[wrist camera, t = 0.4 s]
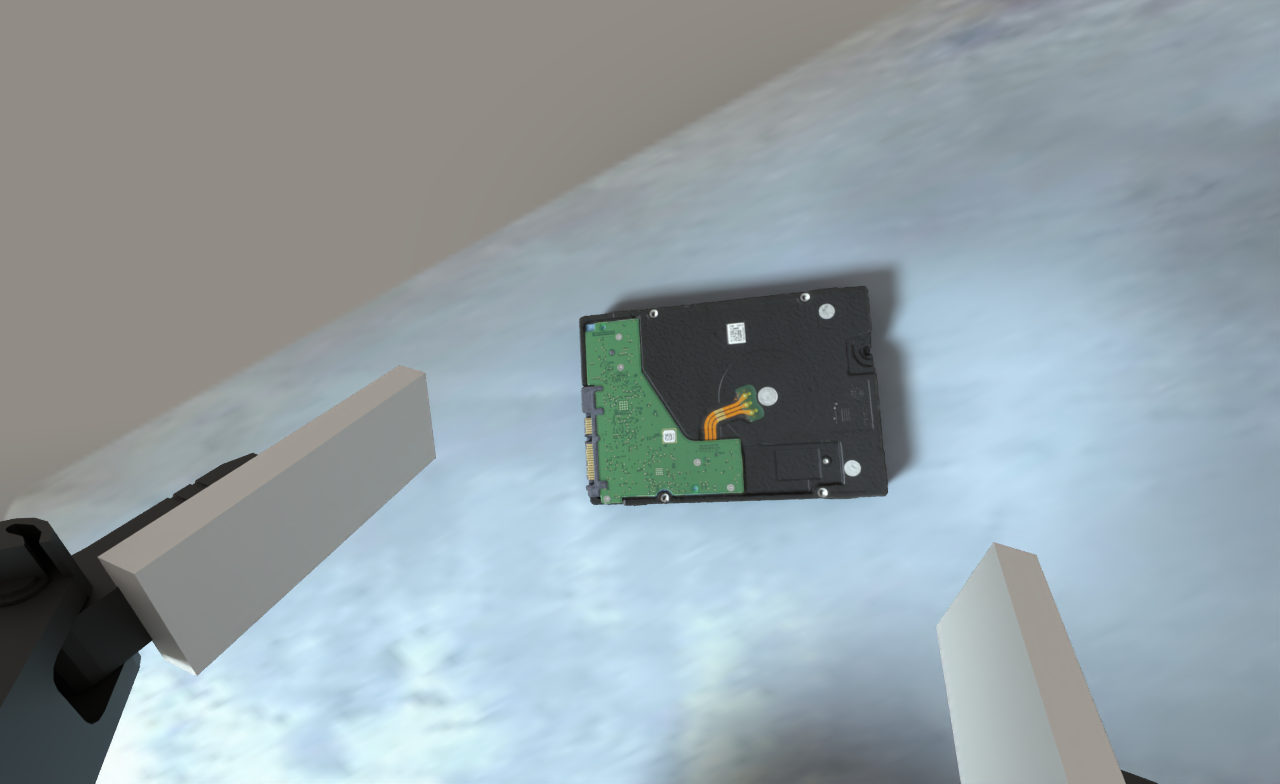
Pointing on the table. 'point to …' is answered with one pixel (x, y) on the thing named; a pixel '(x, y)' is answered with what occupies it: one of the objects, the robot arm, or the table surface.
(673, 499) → the disk drive
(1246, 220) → the table surface
